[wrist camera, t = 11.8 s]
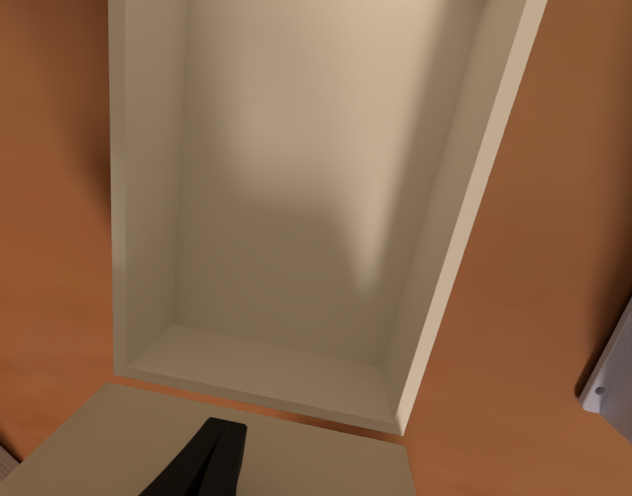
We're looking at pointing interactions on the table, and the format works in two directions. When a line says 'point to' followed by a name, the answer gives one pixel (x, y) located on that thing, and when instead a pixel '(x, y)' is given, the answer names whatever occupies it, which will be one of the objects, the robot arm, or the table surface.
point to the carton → (300, 190)
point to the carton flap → (178, 429)
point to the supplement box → (6, 463)
